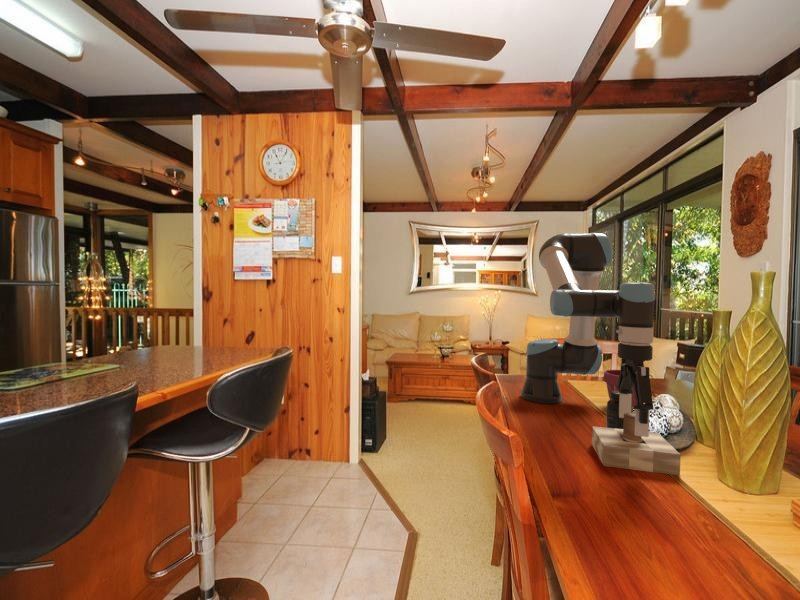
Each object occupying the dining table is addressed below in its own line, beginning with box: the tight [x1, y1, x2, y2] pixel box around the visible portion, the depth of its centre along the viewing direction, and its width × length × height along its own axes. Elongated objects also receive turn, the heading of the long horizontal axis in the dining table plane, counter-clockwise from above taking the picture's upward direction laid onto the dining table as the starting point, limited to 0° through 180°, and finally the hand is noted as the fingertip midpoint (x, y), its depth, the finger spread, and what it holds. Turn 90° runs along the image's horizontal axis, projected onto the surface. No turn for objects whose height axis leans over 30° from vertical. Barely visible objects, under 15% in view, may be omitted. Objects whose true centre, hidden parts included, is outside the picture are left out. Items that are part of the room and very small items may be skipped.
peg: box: [623, 412, 642, 443], centre depth 97 cm, size 4×4×11 cm
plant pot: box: [603, 369, 637, 409], centre depth 141 cm, size 14×14×13 cm
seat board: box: [591, 426, 681, 476], centre depth 97 cm, size 14×16×5 cm
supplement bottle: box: [605, 391, 634, 429], centre depth 116 cm, size 7×7×12 cm
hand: (632, 426), depth 97 cm, fingers open, 13 cm apart
